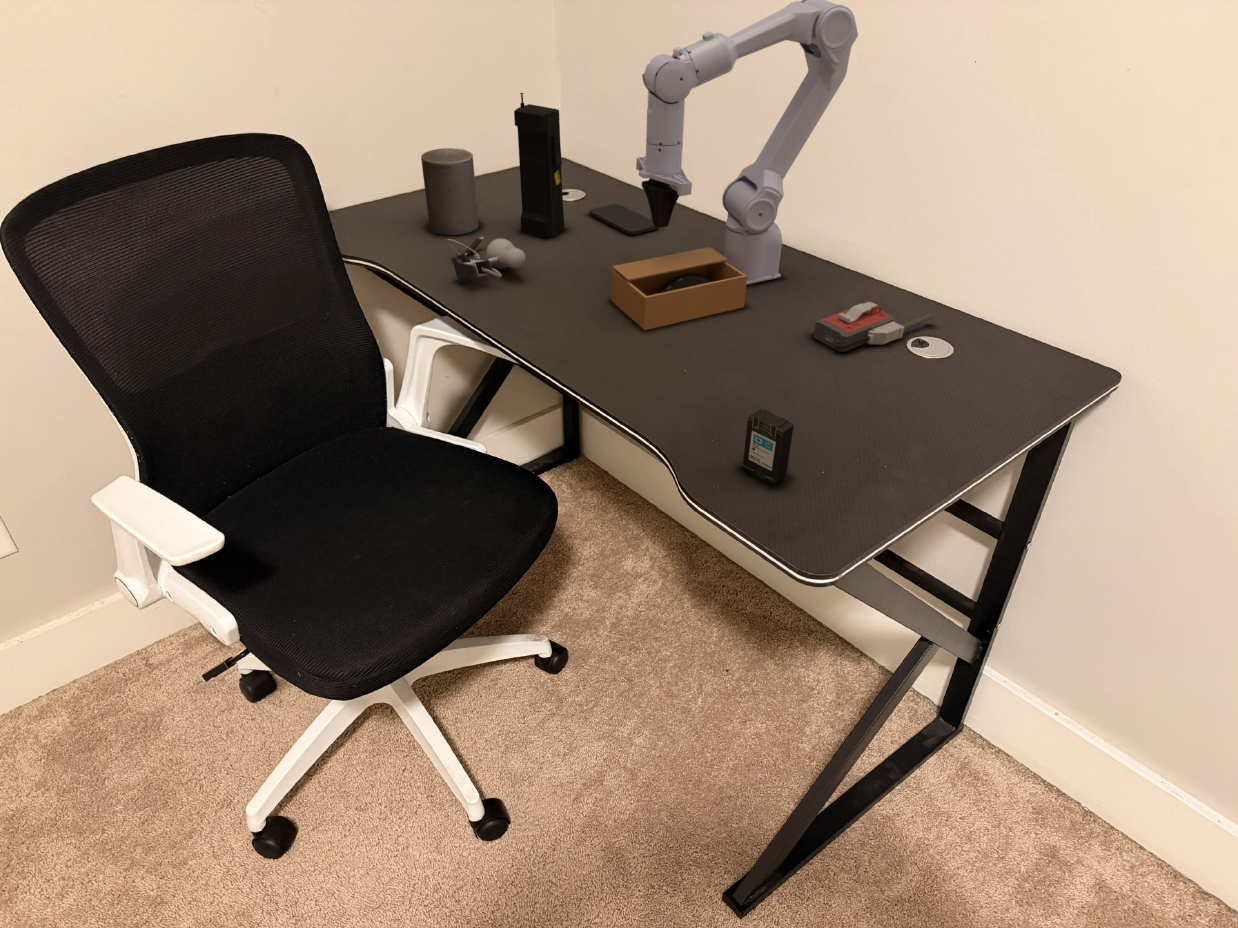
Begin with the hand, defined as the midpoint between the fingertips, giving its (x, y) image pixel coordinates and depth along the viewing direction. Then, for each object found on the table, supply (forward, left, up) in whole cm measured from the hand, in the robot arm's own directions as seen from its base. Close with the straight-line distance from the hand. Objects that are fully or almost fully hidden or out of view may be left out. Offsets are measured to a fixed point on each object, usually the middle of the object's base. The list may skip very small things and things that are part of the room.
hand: (660, 226), depth 142 cm
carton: (+1, +8, -10) cm, 13 cm away
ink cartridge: (+15, +53, -11) cm, 56 cm away
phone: (-8, -29, -10) cm, 32 cm away
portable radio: (+8, -31, -11) cm, 34 cm away
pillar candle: (+23, -41, -11) cm, 48 cm away
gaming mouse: (+1, +8, -10) cm, 13 cm away
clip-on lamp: (+25, -19, -11) cm, 33 cm away
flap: (+1, +5, -5) cm, 7 cm away
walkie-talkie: (-21, +30, -11) cm, 38 cm away
